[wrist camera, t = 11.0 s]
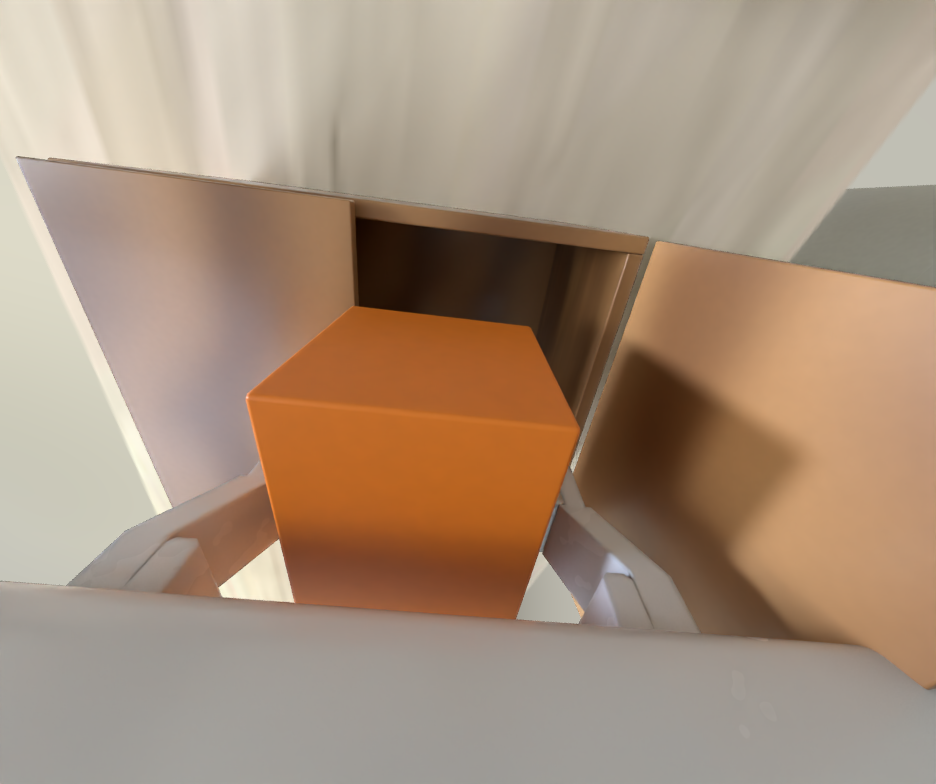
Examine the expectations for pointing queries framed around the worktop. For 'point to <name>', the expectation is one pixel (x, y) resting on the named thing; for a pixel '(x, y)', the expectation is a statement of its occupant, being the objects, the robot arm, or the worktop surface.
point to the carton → (299, 290)
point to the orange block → (413, 462)
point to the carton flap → (777, 449)
